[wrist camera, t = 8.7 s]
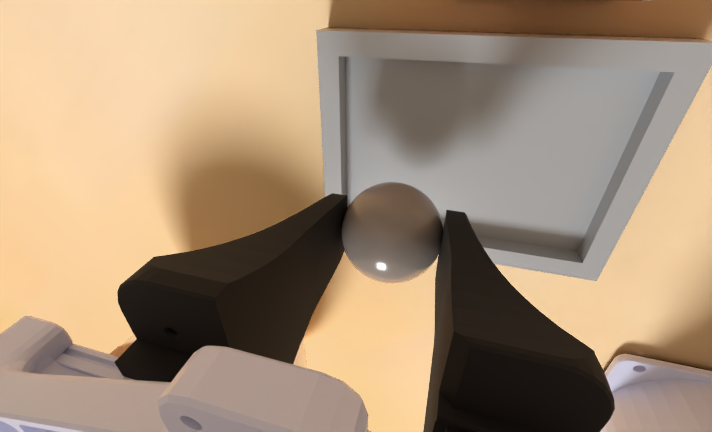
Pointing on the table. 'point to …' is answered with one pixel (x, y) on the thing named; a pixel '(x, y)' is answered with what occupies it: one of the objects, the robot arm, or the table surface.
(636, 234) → the table surface
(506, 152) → the tray
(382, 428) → the table surface
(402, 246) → the pebble dark
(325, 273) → the robot arm
